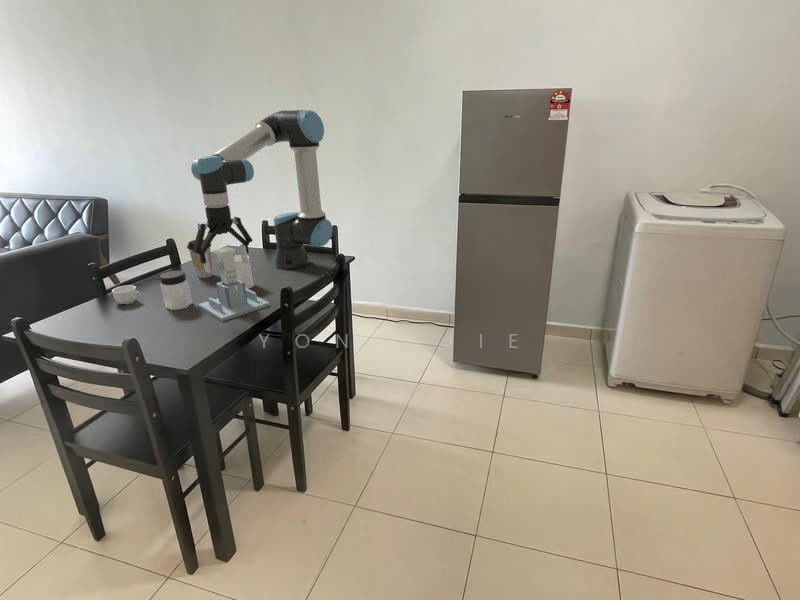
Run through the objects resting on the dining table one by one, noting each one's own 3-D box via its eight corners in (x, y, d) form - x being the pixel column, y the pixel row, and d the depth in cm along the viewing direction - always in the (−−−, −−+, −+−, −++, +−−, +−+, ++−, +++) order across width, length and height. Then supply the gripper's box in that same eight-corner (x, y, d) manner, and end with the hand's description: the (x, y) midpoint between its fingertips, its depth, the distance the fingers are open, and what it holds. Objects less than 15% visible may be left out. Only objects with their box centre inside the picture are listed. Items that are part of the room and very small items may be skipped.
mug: (240, 294, 174) (235, 264, 169) (221, 291, 176) (216, 262, 171) (258, 283, 184) (254, 255, 179) (240, 281, 186) (236, 253, 182)
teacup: (110, 306, 165) (106, 292, 163) (124, 298, 172) (121, 284, 170) (135, 307, 164) (132, 293, 162) (149, 299, 171) (146, 285, 169)
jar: (165, 312, 159) (157, 279, 154) (165, 303, 166) (158, 272, 161) (192, 307, 162) (186, 275, 158) (192, 299, 169) (185, 269, 165)
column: (236, 298, 165) (228, 246, 158) (243, 302, 162) (235, 249, 154) (223, 302, 162) (213, 250, 154) (230, 306, 158) (220, 252, 151)
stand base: (244, 293, 174) (241, 271, 171) (269, 305, 163) (266, 282, 159) (198, 307, 162) (193, 283, 159) (222, 321, 151) (217, 296, 147)
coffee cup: (206, 280, 188) (199, 245, 183) (188, 278, 191) (180, 243, 186) (221, 273, 197) (215, 239, 191) (203, 271, 200) (197, 238, 194)
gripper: (246, 199, 159) (254, 257, 167) (173, 209, 143) (186, 273, 151) (257, 201, 155) (265, 261, 163) (183, 212, 138) (196, 278, 146)
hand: (227, 267), depth 157 cm, fingers open, 13 cm apart
